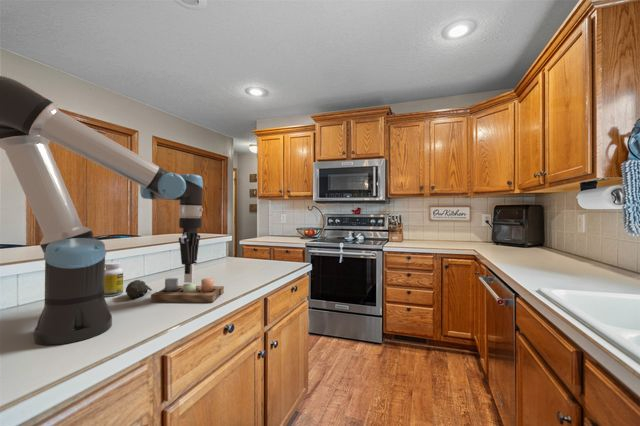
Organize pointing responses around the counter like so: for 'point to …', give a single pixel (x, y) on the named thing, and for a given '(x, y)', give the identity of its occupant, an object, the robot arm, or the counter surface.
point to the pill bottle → (113, 279)
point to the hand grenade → (137, 289)
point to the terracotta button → (207, 285)
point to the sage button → (189, 287)
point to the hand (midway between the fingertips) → (188, 282)
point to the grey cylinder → (171, 284)
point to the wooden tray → (188, 295)
